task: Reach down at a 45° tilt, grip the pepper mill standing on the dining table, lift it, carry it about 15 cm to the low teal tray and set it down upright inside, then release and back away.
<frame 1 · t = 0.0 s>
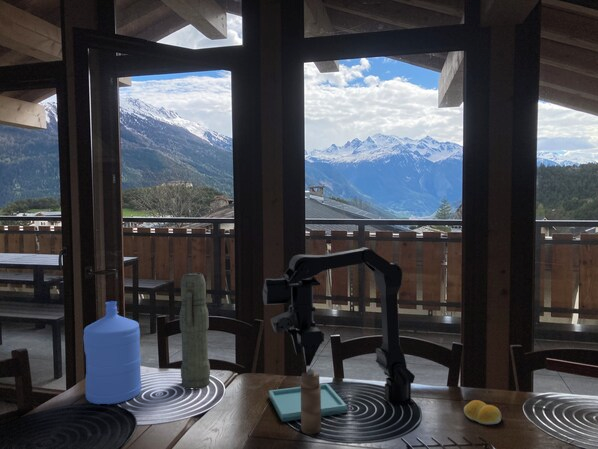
hand: (302, 360, 127), 15 cm above the table, tool pointing down, fingers open, 9 cm apart
thermos: (195, 384, 150), on the table
water jug: (114, 395, 142), on the table
teal tray: (306, 404, 133), on the table
pepper mill: (311, 429, 119), on the table
bread roll: (482, 418, 125), on the table
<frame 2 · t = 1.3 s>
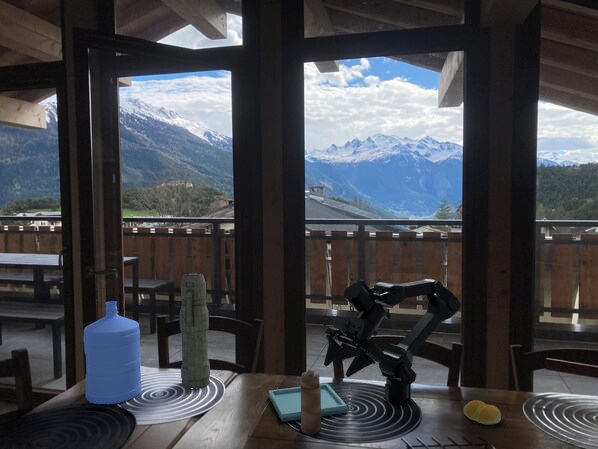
hand: (335, 370, 123), 13 cm above the table, tool tilted 45°, fingers open, 9 cm apart
nothing on the table moved.
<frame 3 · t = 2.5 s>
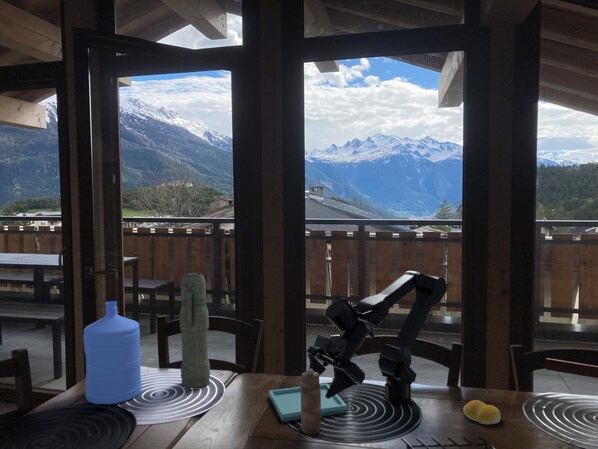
hand: (315, 391, 120), 9 cm above the table, tool tilted 45°, fingers open, 9 cm apart
nothing on the table moved.
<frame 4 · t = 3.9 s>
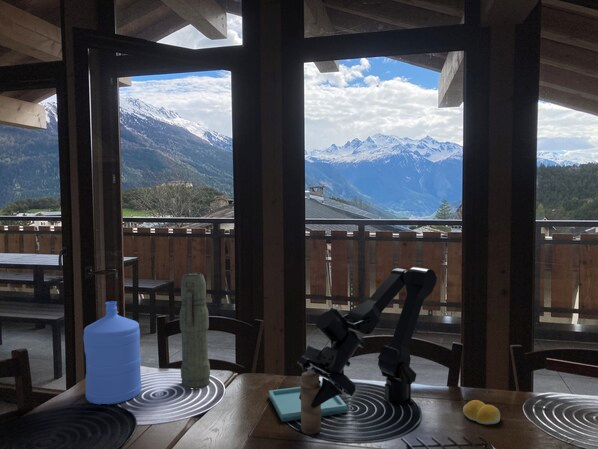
hand: (306, 403, 118), 7 cm above the table, tool tilted 45°, fingers closed on pepper mill, 5 cm apart
pepper mill: (311, 429, 119), on the table, touching gripper
everything else where it was.
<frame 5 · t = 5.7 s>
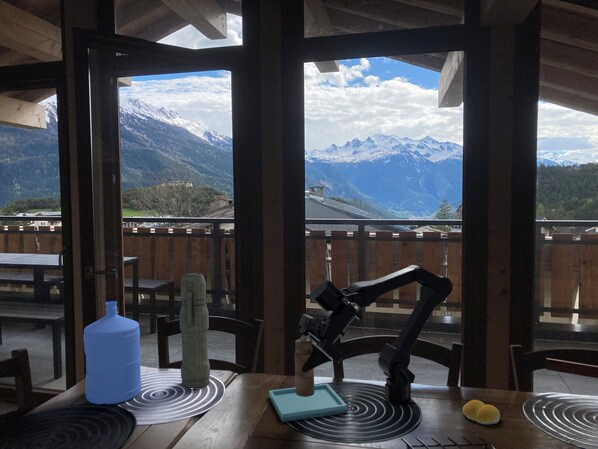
hand: (299, 367, 126), 13 cm above the table, tool tilted 45°, fingers closed on pepper mill, 5 cm apart
pepper mill: (305, 392, 126), point 6 cm above the table, touching gripper
everything else where it was.
when the fingers open (9 cm above the table, at t = 7.3 s): pepper mill drops 1 cm, resting on teal tray.
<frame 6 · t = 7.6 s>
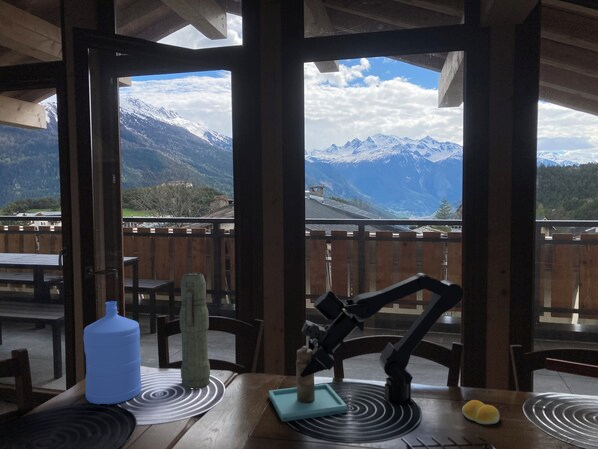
hand: (300, 370, 134), 9 cm above the table, tool tilted 45°, fingers open, 8 cm apart
pepper mill: (305, 399, 134), point 1 cm above the table, touching teal tray
everything else where it was.
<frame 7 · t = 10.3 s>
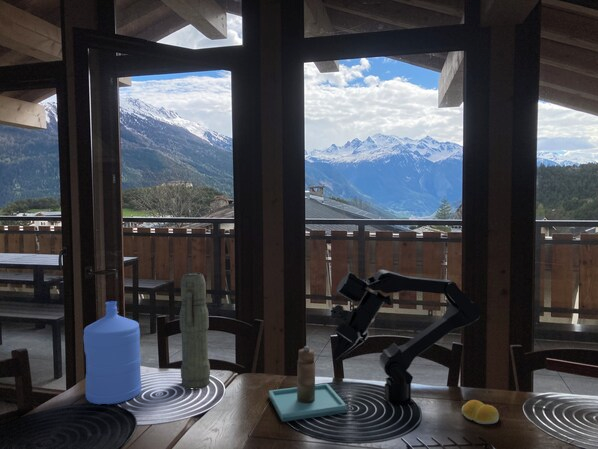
hand: (337, 357, 134), 13 cm above the table, tool tilted 30°, fingers open, 9 cm apart
nothing on the table moved.
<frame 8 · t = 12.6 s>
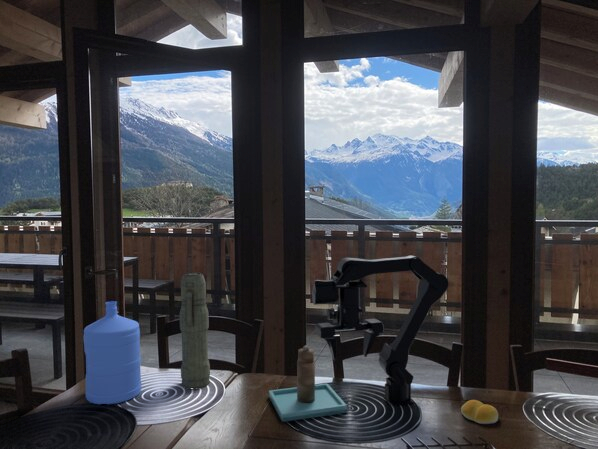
hand: (349, 358, 133), 13 cm above the table, tool pointing down, fingers open, 9 cm apart
nothing on the table moved.
at the end: pepper mill inside the target area on the teal tray (1.0 cm from its centre), point 1.1 cm above the teal tray's base; pepper mill tilted 2°; the gripper is holding nothing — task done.
